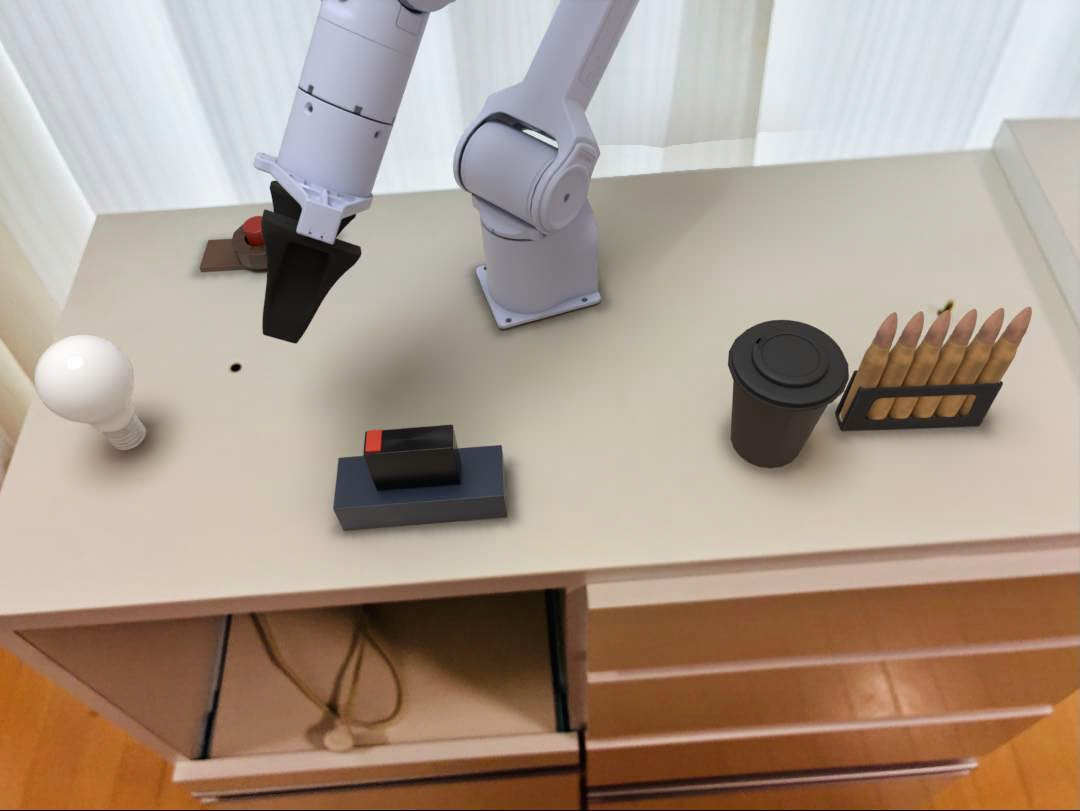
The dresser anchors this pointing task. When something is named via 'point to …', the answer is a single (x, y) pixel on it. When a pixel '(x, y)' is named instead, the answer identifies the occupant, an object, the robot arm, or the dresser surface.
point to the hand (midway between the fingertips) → (282, 315)
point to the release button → (254, 231)
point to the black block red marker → (412, 457)
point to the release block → (233, 254)
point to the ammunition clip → (930, 373)
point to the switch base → (422, 494)
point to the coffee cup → (781, 388)
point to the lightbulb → (91, 387)
